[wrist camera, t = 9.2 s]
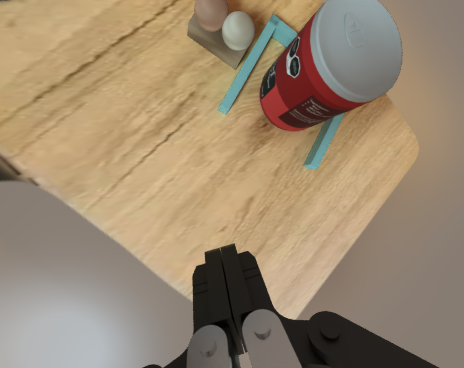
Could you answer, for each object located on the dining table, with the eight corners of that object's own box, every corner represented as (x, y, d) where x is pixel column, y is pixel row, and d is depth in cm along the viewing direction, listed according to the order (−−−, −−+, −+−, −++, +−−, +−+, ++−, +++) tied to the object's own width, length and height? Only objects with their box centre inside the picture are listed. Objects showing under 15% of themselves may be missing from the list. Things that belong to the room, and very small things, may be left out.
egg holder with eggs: (186, 35, 24) (189, -1, 19) (200, 12, 24) (207, -29, 20) (235, 70, 25) (249, 45, 21) (248, 47, 26) (265, 17, 21)
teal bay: (217, 109, 25) (220, 104, 23) (267, 22, 26) (273, 13, 25) (309, 169, 28) (317, 168, 26) (350, 88, 29) (359, 83, 28)
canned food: (291, 53, 27) (367, -31, 17) (327, 109, 28) (420, 64, 18) (243, 88, 26) (293, 20, 15) (284, 146, 27) (357, 120, 16)
